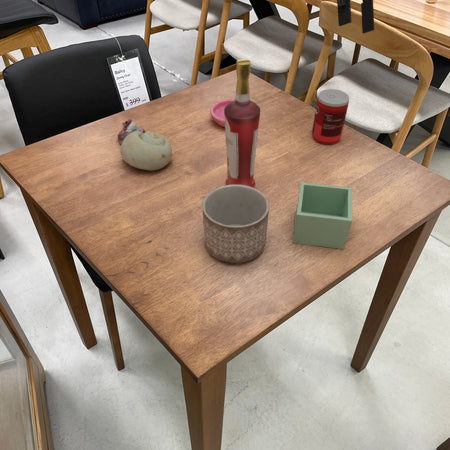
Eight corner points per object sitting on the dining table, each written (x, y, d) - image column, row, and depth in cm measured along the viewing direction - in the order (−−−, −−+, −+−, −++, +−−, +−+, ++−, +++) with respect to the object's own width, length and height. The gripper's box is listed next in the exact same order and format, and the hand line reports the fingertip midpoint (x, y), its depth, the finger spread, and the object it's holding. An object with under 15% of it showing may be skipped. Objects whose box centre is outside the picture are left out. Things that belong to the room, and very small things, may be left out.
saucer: (243, 105, 127) (243, 95, 125) (262, 126, 120) (263, 115, 117) (203, 114, 124) (203, 103, 121) (221, 136, 117) (221, 125, 114)
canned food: (323, 126, 120) (330, 85, 111) (347, 137, 116) (356, 96, 107) (305, 136, 117) (311, 95, 108) (328, 148, 113) (336, 107, 104)
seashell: (169, 123, 107) (165, 141, 100) (175, 154, 112) (172, 173, 105) (118, 129, 108) (111, 146, 100) (126, 159, 113) (120, 178, 106)
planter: (203, 225, 94) (201, 185, 86) (261, 222, 95) (264, 182, 87) (206, 268, 86) (203, 228, 78) (269, 264, 87) (273, 225, 79)
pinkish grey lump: (127, 129, 119) (124, 112, 115) (152, 134, 117) (149, 117, 113) (112, 144, 114) (108, 127, 111) (137, 150, 113) (134, 132, 109)
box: (343, 249, 90) (351, 220, 84) (292, 242, 91) (296, 214, 85) (344, 216, 96) (352, 187, 90) (296, 210, 97) (300, 181, 92)
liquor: (221, 180, 104) (219, 56, 83) (250, 175, 106) (256, 52, 84) (229, 199, 100) (229, 73, 78) (259, 194, 101) (268, 68, 79)
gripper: (357, -58, 108) (362, 38, 114) (309, -91, 90) (318, 26, 96) (388, -72, 103) (391, 29, 109) (343, -110, 85) (350, 14, 91)
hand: (357, 28), depth 102 cm, fingers open, 13 cm apart
